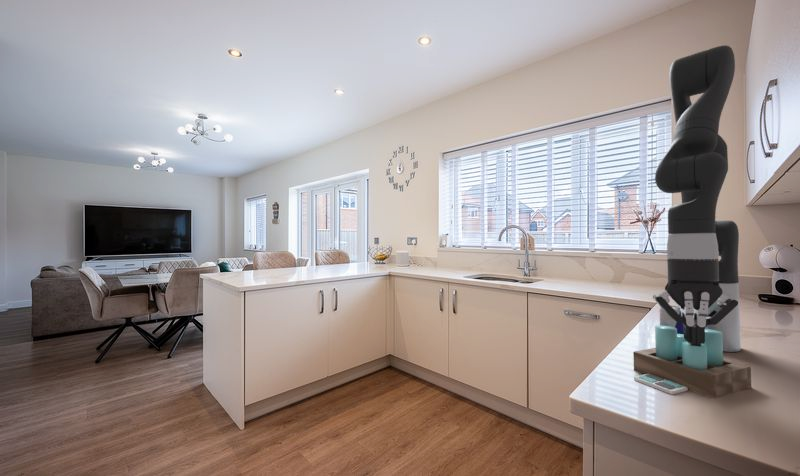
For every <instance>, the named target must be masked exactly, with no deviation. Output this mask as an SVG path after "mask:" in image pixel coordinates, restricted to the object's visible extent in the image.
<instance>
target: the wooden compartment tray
mask: <svg viewBox="0 0 800 476" xmlns="http://www.w3.org/2000/svg"><path fill="white" fill-rule="evenodd" d="M632 354H633V370H634V371H636V372H638V373H641V374H643V375H644V374H652V375H655V376H657V377H660V378H663V379H665V380H669V381H671V382H674V383H677V384H680V385H683V386H685V387H688V391H691V392H695V393H697V394H700V395H702V396H705V397H708V398H710V399H716V398H719V397H722V396H726V395H729V394H733V393H737V392H741V391H744V390H747V389H752V367H751V366H749V365H747V364H746V365H745V364H742V363H738V362H735V361H732V360H727V359H724V358H723V366H719V367H717V366H713V365H710V364H707V369H706V370H702V371H701V370H698V369H695V368H691V367H688V366H685V365H683V359H682V356H678V360H676V361H668V360H665V359H662V358H658V357H656V347H651V348H647V349H641V350H634V351H633V353H632Z"/></svg>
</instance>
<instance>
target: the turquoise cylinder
mask: <svg viewBox="0 0 800 476" xmlns="http://www.w3.org/2000/svg"><path fill="white" fill-rule="evenodd" d="M701 344H703V343H701ZM703 345H706V346H707V364H710V365H713V366H717V367H719V366H723V359H724V351H723V340H722V332H720V331H716V330H710V329H705V342H704V344H703Z"/></svg>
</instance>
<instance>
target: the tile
mask: <svg viewBox="0 0 800 476" xmlns="http://www.w3.org/2000/svg"><path fill="white" fill-rule="evenodd" d="M633 380H635V381H637V382H638V383H641V384H644V385H647V386H650V387H652V388H655V389H657V390H660V391H662V392H665V393H667V394H669V395H676V394H679V393H684V392H688V391H689V390H688V387H685V386H683V385H680V384H677V383H674V382H671V381H669V380H665V379H663V378H660V377H657V376H655V375H652V374H644V373H643V374H641V375H640V374H639V375H637V376H636V375H635V376H633Z"/></svg>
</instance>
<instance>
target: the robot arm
mask: <svg viewBox="0 0 800 476" xmlns="http://www.w3.org/2000/svg"><path fill="white" fill-rule="evenodd" d="M734 53H735V52H734V51H733V49H732V47H731V46H730V45H726V44H725V45H720V46H716V47H711V48H708V49H706V50H702V51H699V52H696V53H693V54H690V55H686V56H684V57H681V58H677V59H675V60H674V61H673V62H672V63H671V65H670V68H669V87H670V93H671V95H670V96H671V101H672V107H673V108H672V109H673V114H674V120H675V121H674V122H675V127H674V132H673V136H672V137H673V138H672V143H671V145H670V147H669V149H668V150H667V152H666V153H665V154H664V156H663V157H662V159H661V160H660V161H659V164H658V165H657V168H656V171H655V174H654V175H655V176H654V181H655V185H656V186H657V188H658V189H659V190H660V191H661V192H662V193H665V194H666V193H667V194H679V193H680V194H681V195H680V196H681V203H679V204H676V205H672V206H670V208H669V209H668V210H667V229H668V230H667V232H668V235H667V243H666V254H667V255H666V258H667V262H666V263H667V284H666V285H665V287H664V291H661V293H658V294H653V296H652V299H653V300H654V301H655V302H656V303H657V304H658V305H659V306H660V308H661V307H662V309H663V310H664V311H665V312H666V313H667V314H668V315H669V316H670V317H671V318H672V319H673V320H675V321H676V322H680V323H683V326H684V339H685V340H686V341H687V342H688V343H689V344H690V345H692V346H701V343H703V344H704V342H705V329H710V330H716V331H720V332H722V340H723V352H725V353H726V352H727V353H728V352H729V353H734V352H740V351H741V347H742V346H741V345H742V344H741V340H742V339H741V314H740V310H741V309H740V289H739V288H740V287H739V286H740V285H739V267H738V262H739V261H738V260H739V243H740V242H739V239H740V238H739V237H740V235H739V228H738V225H737V223H736V222H734V221H733V220H716V211H717V204H718V200H719V196H720V194H721V193H720V192H721V190H722V187H723V185H724V183H725V180H726V177H727V174H728V172H729V158H728V157H729V155H728V153H729V151H728V144H727V143H726V141H725V139H724V138H723V137H722V136H721V135H720V134H719V129H720V121H721V117H722V112H723V109H724V107H725V104H726V101H727V100H728V97H729V93H730V90H731V88H732V83H733V81H734V76H735V71H736V60H735V59H736V58H735V54H734ZM697 95H700V96H699V97H698V98H697V99H696V100H695V101H694V102H692V100H691V97H693V96H697ZM719 257H720V260H719ZM670 298H671V299H672V300H673V302H674V303H676V305H677V306H678V307H680V311H681V315H682V316H680V315H679V314H678V313H677V312H676V311H675V310H674V309H673V308H672V307H671V306H672V305H670V304H669V303H670V302H671V299H670Z"/></svg>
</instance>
